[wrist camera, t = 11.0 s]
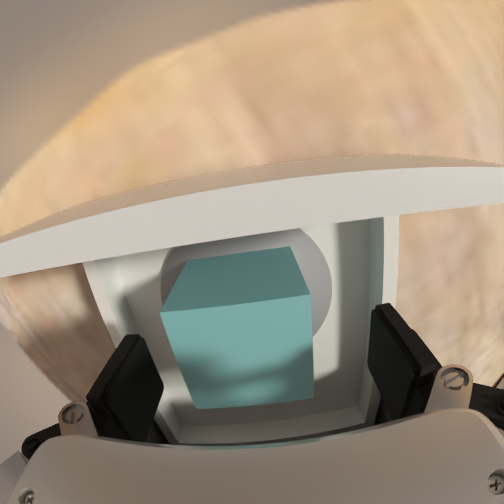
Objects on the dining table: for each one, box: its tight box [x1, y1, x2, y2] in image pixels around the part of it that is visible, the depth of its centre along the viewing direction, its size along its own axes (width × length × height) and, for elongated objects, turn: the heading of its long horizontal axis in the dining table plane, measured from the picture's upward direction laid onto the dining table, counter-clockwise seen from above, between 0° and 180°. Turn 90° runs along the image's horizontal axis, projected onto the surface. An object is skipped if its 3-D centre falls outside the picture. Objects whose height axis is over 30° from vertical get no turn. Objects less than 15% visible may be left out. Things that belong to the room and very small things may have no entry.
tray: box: [0, 154, 504, 446], centre depth 13 cm, size 18×18×9 cm
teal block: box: [160, 246, 314, 409], centre depth 12 cm, size 5×5×5 cm
